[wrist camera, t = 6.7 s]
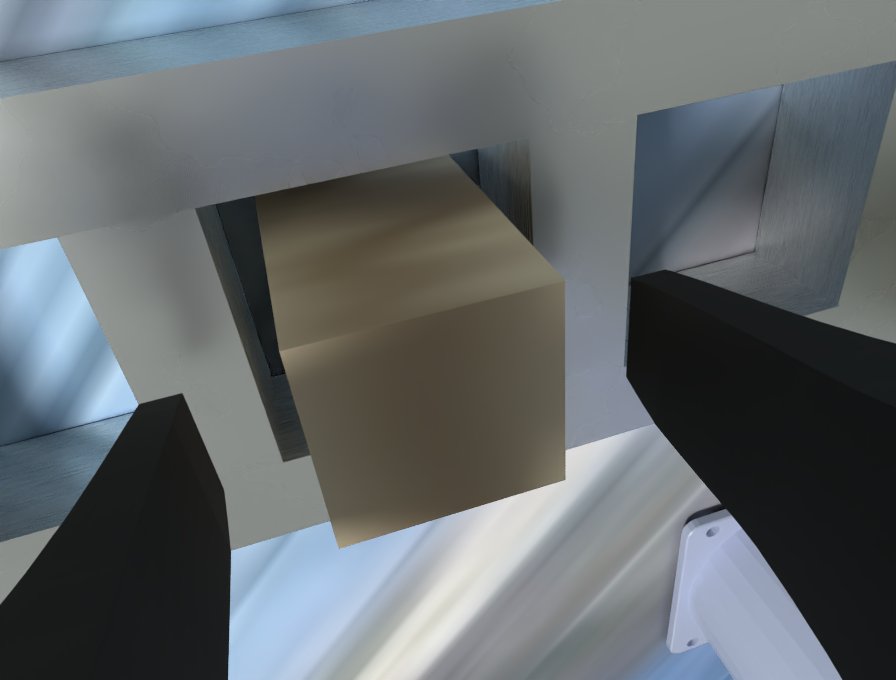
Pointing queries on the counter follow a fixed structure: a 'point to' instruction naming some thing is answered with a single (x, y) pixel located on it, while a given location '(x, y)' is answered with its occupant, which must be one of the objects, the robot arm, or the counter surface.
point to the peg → (415, 344)
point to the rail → (410, 140)
